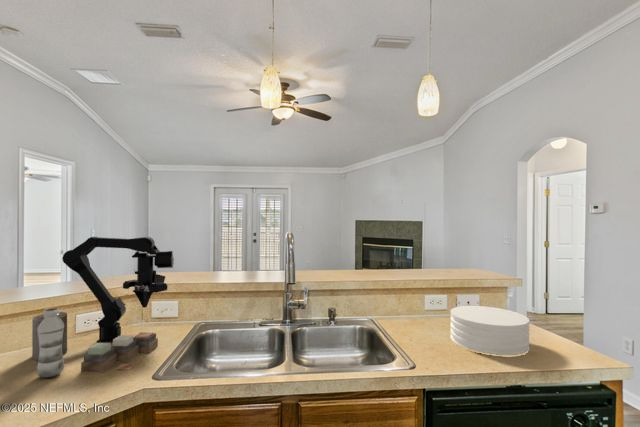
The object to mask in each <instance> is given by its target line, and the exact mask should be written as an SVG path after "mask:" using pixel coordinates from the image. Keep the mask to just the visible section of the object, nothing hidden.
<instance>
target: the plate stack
mask: <svg viewBox="0 0 640 427" xmlns="http://www.w3.org/2000/svg"><path fill="white" fill-rule="evenodd" d="M530 321H531V320H530V319H529V317H527V316H526V315H524V314H522V313H520V312H516V311H513V310H509V309H505V308H499V307H493V306H484V305H462V306H456V307H452V308H451V309H450V323H449V324H450V329H449V330H450V336H449V337H450V338H451V340H452V341H453V342H455V343H456V344H458V345H460V346H462V347H465V348H468V349H471V350H475V351H478V352H483V353H489V354H496V355H518V354H523V353H525V352H527V351H529V352H530ZM450 338H449V339H450ZM451 340H450V341H451Z"/></svg>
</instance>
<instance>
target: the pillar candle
mask: <svg viewBox="0 0 640 427" xmlns="http://www.w3.org/2000/svg"><path fill="white" fill-rule="evenodd" d="M43 315H44V313H41V314H38V315H34V316H33V317H32V322H31V323H32V327H31V328H32V330H31V331H32V334H31V337H32V339H31V340H32V341H31V344H32V348H31V349H32V351H31V352H32V353H31V355H32V359H33V360H34V361H39V353H40V346H39V337H38V331H37V329H38V326H39V325H40V323H41V322H42V321H43V320H44V318H45V317H43ZM58 317H59V318H60V319H61V320H62V321H63V323H64V332H63V337H62V355H65V354H67V352H68V313H67V312H65V311H59V315H58Z"/></svg>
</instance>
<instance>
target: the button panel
mask: <svg viewBox="0 0 640 427" xmlns="http://www.w3.org/2000/svg"><path fill="white" fill-rule="evenodd" d="M158 342H159V340H158V337H157V333H155V332H153V335H152V336H150V337H149V338H135V336H133V342H132V343H131V344H129V345H128V346H113V343H111V350H110V351H108V352H107V353H105V354H103V355H88V352H87V353H85V354H84V355H83V361H81V362H80V372H81V373H105V372H106V371H108V370H109V369H111V367H113V366H114V365H115V364H117V363H123V364H121V365H120V366H118V367H117V368H116V371H130V370H132V369H133V367H135V366H136V363H129V362H130V361H131V360H133V359H134V358H135V357H136V356H138V355H139V354H151V353H152V352H153V351H155V349H156V348H158V346H159V343H158Z"/></svg>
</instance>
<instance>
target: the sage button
mask: <svg viewBox="0 0 640 427" xmlns="http://www.w3.org/2000/svg"><path fill="white" fill-rule="evenodd" d="M111 345H112V342H96V343H94V344H92V345H91V346H90V347H88V348H87V353H88V355H103V354H105V353H107V352H108V351H110V350H111Z"/></svg>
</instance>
